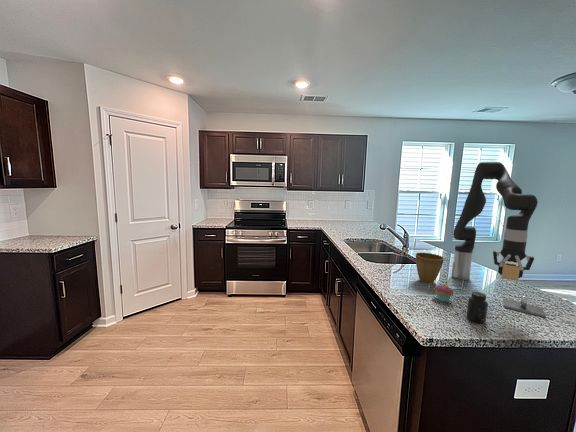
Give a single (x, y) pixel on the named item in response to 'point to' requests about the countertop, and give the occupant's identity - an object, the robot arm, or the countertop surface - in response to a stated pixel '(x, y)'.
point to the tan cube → (510, 271)
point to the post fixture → (524, 307)
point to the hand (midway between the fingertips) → (509, 275)
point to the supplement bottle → (477, 308)
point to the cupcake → (444, 292)
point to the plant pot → (428, 266)
